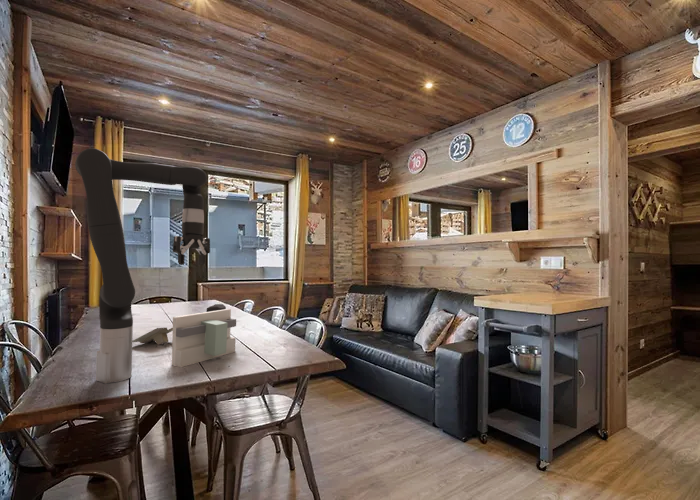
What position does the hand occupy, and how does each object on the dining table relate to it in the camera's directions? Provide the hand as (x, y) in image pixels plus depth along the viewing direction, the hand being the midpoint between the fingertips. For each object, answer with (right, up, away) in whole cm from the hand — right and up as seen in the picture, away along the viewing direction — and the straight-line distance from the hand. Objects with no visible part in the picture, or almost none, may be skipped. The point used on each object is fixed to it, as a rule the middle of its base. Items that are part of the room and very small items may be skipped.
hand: (191, 264), depth 137 cm
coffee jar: (-3, -39, +32) cm, 50 cm away
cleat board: (+1, -38, +10) cm, 39 cm away
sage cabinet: (+5, -35, +8) cm, 36 cm away
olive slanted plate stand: (-30, -38, +31) cm, 58 cm away
